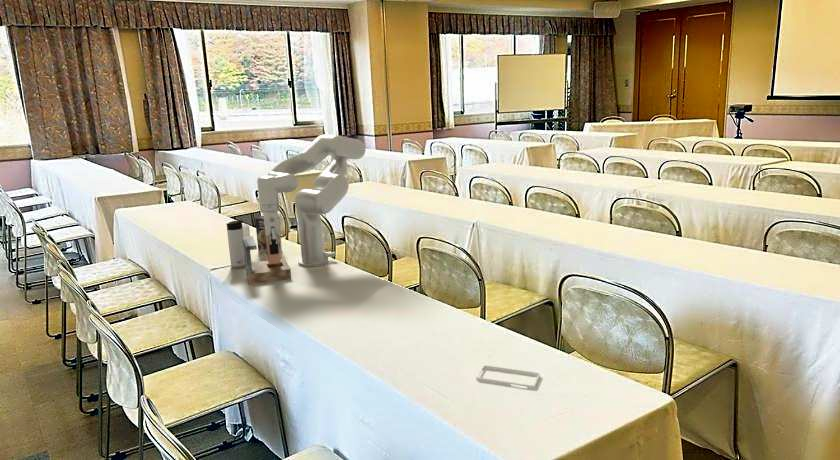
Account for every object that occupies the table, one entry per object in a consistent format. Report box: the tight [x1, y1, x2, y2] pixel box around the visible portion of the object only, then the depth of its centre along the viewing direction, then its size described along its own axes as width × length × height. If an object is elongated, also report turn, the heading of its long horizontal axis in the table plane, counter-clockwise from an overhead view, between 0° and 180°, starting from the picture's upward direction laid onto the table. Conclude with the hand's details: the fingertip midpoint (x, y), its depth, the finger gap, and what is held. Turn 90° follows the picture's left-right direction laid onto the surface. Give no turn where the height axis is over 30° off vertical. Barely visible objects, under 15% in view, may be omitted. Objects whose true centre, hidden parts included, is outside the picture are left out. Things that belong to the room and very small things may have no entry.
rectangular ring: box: [475, 364, 541, 390], centre depth 157 cm, size 7×1×15 cm
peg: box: [265, 233, 281, 265], centre depth 245 cm, size 4×4×12 cm
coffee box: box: [254, 215, 283, 254], centre depth 281 cm, size 9×6×16 cm
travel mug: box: [226, 220, 246, 270], centre depth 258 cm, size 6×7×20 cm
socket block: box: [242, 235, 292, 285], centre depth 245 cm, size 16×16×15 cm
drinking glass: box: [242, 223, 251, 237], centre depth 271 cm, size 7×7×15 cm
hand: (273, 251), depth 246 cm, fingers closed on peg, 4 cm apart
